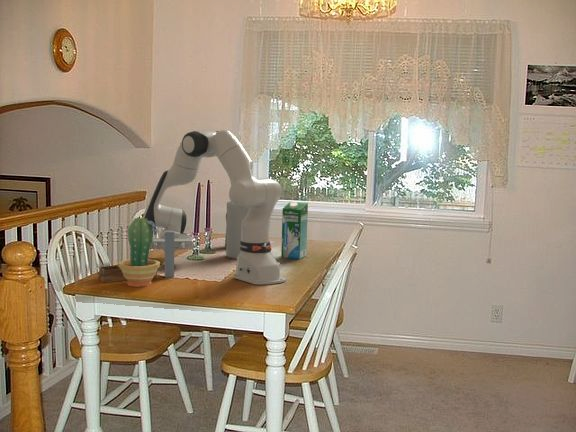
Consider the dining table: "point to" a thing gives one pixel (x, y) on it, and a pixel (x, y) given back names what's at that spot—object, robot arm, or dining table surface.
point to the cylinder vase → (234, 229)
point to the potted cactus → (140, 254)
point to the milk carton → (294, 230)
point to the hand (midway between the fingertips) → (169, 247)
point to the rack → (111, 274)
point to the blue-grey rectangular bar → (169, 254)
